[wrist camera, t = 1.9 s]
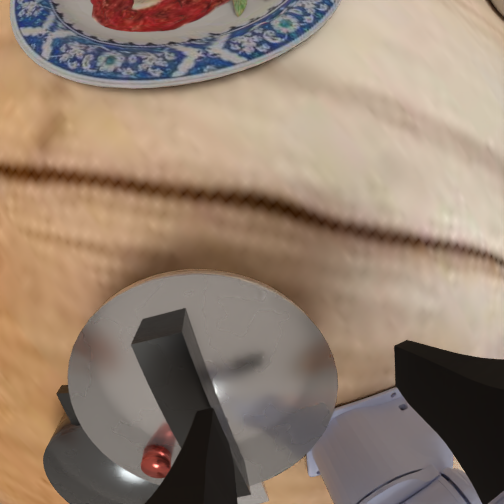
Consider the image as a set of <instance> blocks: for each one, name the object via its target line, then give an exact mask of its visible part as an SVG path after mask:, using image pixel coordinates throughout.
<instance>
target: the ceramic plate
mask: <svg viewBox="0 0 504 504" xmlns="http://www.w3.org/2000/svg"><path fill="white" fill-rule="evenodd" d="M340 2H341V0H11V1H10V20H11V25H12V29H13V32H14V35H15V37H16V40H17V41H18V43H19V45H20V46H21V48H22V49H23V50H24V52H25V53H26V54H27V55H28V56H29V57H30V58H31V59H32V60H33V61H34V62H36V63H37V64H38V65H40V66H41V67H43V68H44V69H46V70H48V71H49V72H52V73H54V74H56V75H58V76H61V77H63V78H66V79H69V80H72V81H75V82H79V83H84V84H89V85H94V86H100V87H106V88H130V89H140V88H160V87H169V86H179V85H184V84H190V83H197V82H202V81H206V80H210V79H215V78H219V77H223V76H226V75H230V74H233V73H237V72H240V71H243V70H246V69H248V68H251V67H254V66H257V65H259V64H262V63H264V62H266V61H268V60H271V59H273V58H275V57H277V56H279V55H281V54H283V53H285V52H287V51H288V50H290V49H292V48H294V47H295V46H297V45H298V44H300V43H301V42H303V41H304V40H306V39H307V38H309V37H310V36H311V35H312V34H314V33H315V32H316V31H317V30H318V29H320V28H321V27H322V26H323V25H324V24H325V23H326V22H327V20H328V19H329V18H330V17H331V16H332V14H333V13H334V11H335V10H336V8H337V7H338V6H339V4H340Z"/></svg>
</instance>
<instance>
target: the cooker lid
mask: <svg viewBox="0 0 504 504" xmlns="http://www.w3.org/2000/svg"><path fill="white" fill-rule="evenodd" d="M68 389H69V394H70V399H71V403H72V406H73V409H74V412H75V414H76V417H77V419H78V421H79V423H80V424H81V426H82V428H83V430H84V431H85V433H86V434H87V435H88V437H89V438H90V439H91V441H92V442H93V443H94V444H95V445H96V446H97V447H98V449H99V450H100V451H101V452H102V453H103V454H105V455H106V456H107V457H108V458H109V459H110V460H112V461H113V462H114V463H116V464H117V465H119V466H120V467H122V468H123V469H124V470H126V471H128V472H130V473H132V474H133V475H135V476H137V477H139V478H142V479H144V480H146V481H149V482H151V483H154V484H157V485H160V484H161V483H162V481H163V480H164V478H165V477H166V475H167V474H168V472H169V470H170V469H171V467H172V465H173V463H174V461H175V460H176V458H177V456H178V454H179V452H180V450H181V448H182V446H183V443H184V441H185V439H186V437H187V434H188V432H189V430H190V427H191V424H192V422H193V419H194V416H195V414H196V412H197V411H200V410H204V409H208V408H214V410H215V413H216V415H217V417H218V420H219V422H220V424H221V427H222V429H223V431H224V433H225V436H226V438H227V440H228V442H229V445H230V449H231V454H232V458H233V463H234V470H235V481H236V492H237V502H238V504H259V503H263V502H267V501H269V498H268V494H267V490H266V487H265V485H264V482H263V481H265V480H268V479H270V478H272V477H274V476H276V475H278V474H280V473H282V472H283V471H285V470H286V469H288V468H290V467H291V466H293V465H294V464H295V463H296V462H298V461H299V460H300V459H301V458H303V457H304V456H305V455H306V454H307V453H308V452H309V451H310V450H311V449H312V448H313V447H314V445H315V444H316V443H317V441H318V440H319V439H320V438H321V436H322V435H323V433H324V431H325V429H326V428H327V426H328V424H329V422H330V419H331V417H332V415H333V412H334V408H335V404H336V400H337V390H338V379H337V370H336V365H335V361H334V357H333V355H332V353H331V350H330V348H329V345H328V343H327V342H326V340H325V338H324V337H323V335H322V334H321V332H320V330H319V329H318V328H317V327H316V326H315V324H314V323H313V322H312V321H311V320H310V319H309V317H308V316H307V315H306V314H305V313H304V312H303V311H302V309H301V308H300V307H298V306H297V305H296V304H295V303H294V302H293V301H291V300H290V299H289V298H288V297H286V296H285V295H283V294H282V293H280V292H279V291H277V290H275V289H274V288H272V287H270V286H268V285H266V284H264V283H262V282H259V281H257V280H255V279H252V278H249V277H246V276H242V275H239V274H236V273H231V272H225V271H220V270H209V269H187V270H175V271H170V272H165V273H160V274H156V275H153V276H150V277H147V278H145V279H142V280H139V281H137V282H135V283H133V284H131V285H129V286H127V287H125V288H123V289H122V290H120V291H119V292H118V293H116V294H115V295H114V296H112V297H111V298H109V299H108V300H107V301H106V302H105V303H104V304H103V305H102V306H101V307H100V308H99V309H98V310H97V311H96V312H95V314H94V315H93V316H92V317H91V318H90V319H89V321H88V322H87V324H86V325H85V326H84V328H83V329H82V331H81V332H80V334H79V336H78V338H77V340H76V342H75V344H74V346H73V349H72V353H71V357H70V360H69V368H68Z"/></svg>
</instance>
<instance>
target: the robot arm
mask: <svg viewBox="0 0 504 504" xmlns="http://www.w3.org/2000/svg"><path fill="white" fill-rule="evenodd" d="M394 351H395V381H396V387H395V388H392V389H390V390H387V391H384V392H381V393H379V394H376V395H373V396H370V397H368V398H365V399H362V400H359V401H356V402H353V403H350V404H347V405H343V406H340V407H337V408H334V412H333V415H332V417H331V419H330V422H329V424H328V426H327V428H326V429H325V431H324V433H323V435H322V436H321V438H320V439H319V440H318V441H317V443H316V444H315V445H314V447H313V448H312V449H311V450H310V451H309V452H308V453H307V454H306V459H307V469H308V474H309V476H310V477H314V476H318V475H321V476H322V478H323V481H324V483H325V485H326V487H327V489H328V492H329V494H330V496H331V498H332V500H333V503H334V504H504V360H501V359H488V358H479V357H473V356H468V355H462V354H458V353H454V352H449V351H446V350H442V349H438V348H435V347H431V346H428V345H424V344H420V343H417V342H413V341H408V340H406V341H404V342H402V343H400V344H397V345H395V346H394ZM392 393H393V394H392ZM453 455H454V456H455V457H456V459H457V460H458V462H459V463H460V465H461V467H462V468H463V470H464V471H465V473H464V472H463V471H462V470H460V469H457V468H453ZM145 504H238V502H237V492H236V481H235V470H234V463H233V458H232V454H231V449H230V445H229V442H228V440H227V438H226V436H225V433H224V431H223V429H222V427H221V424H220V422H219V420H218V417H217V415H216V413H215V410H214V408H208V409H204V410H200V411H197V412H196V414H195V416H194V419H193V422H192V424H191V427H190V430H189V432H188V434H187V437H186V439H185V441H184V443H183V446H182V448H181V450H180V452H179V454H178V456H177V458H176V460H175V461H174V463H173V465H172V467H171V469H170V470H169V472H168V474H167V475H166V477H165V478H164V480H163V481H162V483H161V484H160V485H159V487H158V488H157V490H156V491H155V492H154V493H153V495H152V496H151V497H150V498H149V499H148V500H147V502H146V503H145Z"/></svg>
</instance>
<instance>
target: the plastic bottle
mask: <svg viewBox="0 0 504 504" xmlns="http://www.w3.org/2000/svg"><path fill="white" fill-rule="evenodd" d="M490 1H491V2H492V4H493V5H494V6H495V8H496V9H497V10H498V11H499V13H500V14H501V15H502V16H503V17H504V0H490Z"/></svg>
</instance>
